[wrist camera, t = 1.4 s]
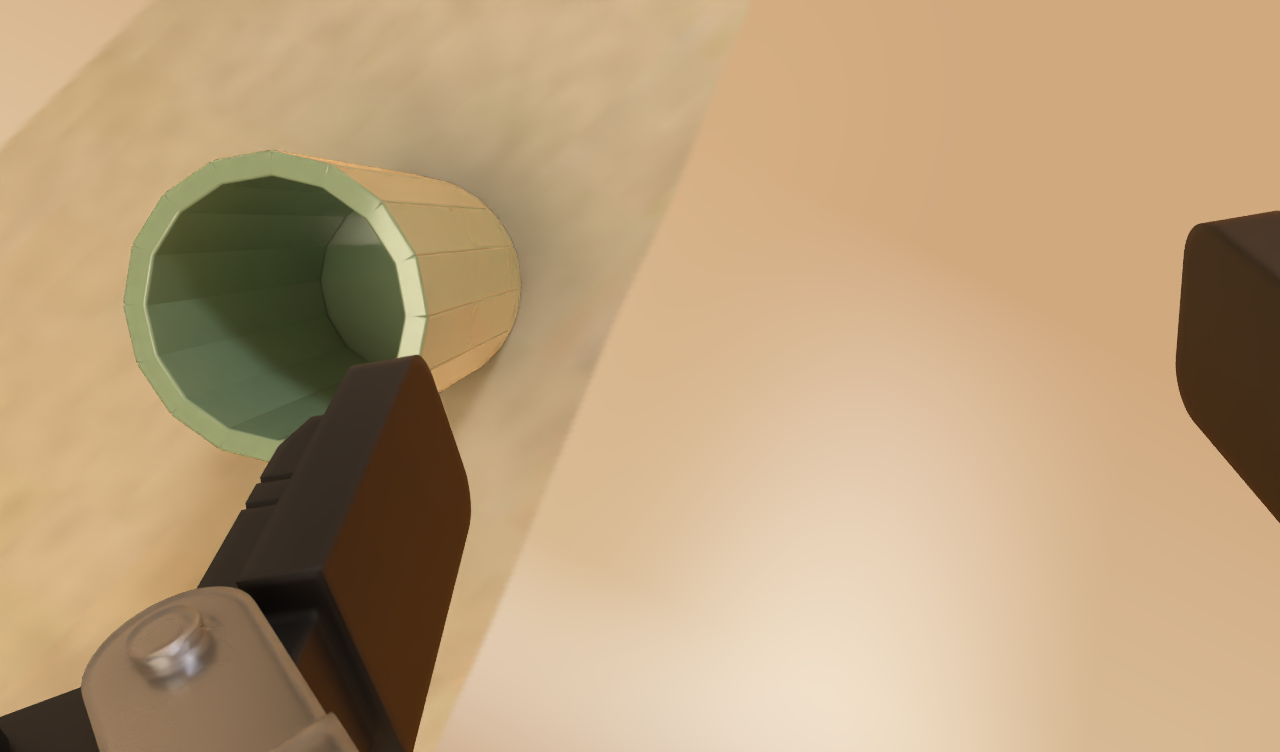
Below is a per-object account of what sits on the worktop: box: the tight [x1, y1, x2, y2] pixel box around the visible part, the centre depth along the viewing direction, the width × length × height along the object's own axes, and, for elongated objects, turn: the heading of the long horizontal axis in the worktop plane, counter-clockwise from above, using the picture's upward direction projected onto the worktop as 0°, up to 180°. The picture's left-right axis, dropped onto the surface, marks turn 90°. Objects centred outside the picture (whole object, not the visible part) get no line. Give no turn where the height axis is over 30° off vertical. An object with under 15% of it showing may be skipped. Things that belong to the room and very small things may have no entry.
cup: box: [124, 150, 521, 462], centre depth 25 cm, size 6×6×10 cm
